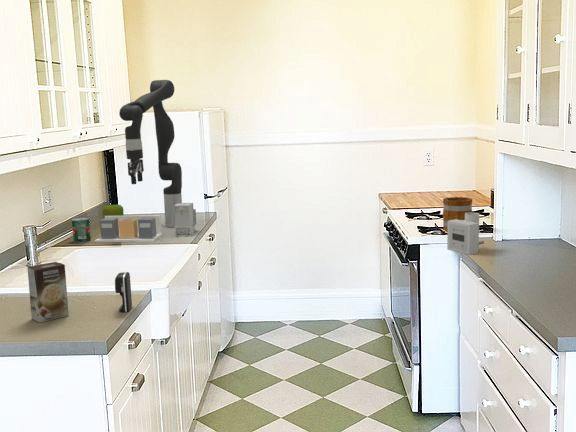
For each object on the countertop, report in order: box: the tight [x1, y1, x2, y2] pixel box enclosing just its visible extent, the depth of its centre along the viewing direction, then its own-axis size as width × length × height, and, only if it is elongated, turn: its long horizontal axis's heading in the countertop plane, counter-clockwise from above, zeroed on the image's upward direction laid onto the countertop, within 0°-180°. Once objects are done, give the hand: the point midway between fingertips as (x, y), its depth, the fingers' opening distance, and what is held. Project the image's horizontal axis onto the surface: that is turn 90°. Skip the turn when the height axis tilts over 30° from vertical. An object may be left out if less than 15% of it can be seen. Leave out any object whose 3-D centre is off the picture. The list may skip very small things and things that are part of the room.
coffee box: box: [26, 261, 70, 323], centre depth 192 cm, size 9×6×16 cm
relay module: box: [119, 219, 138, 238], centre depth 304 cm, size 5×7×8 cm
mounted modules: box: [99, 218, 156, 238], centre depth 304 cm, size 6×25×8 cm, turn 84°
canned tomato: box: [71, 217, 92, 244], centre depth 303 cm, size 8×8×11 cm
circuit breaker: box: [174, 202, 197, 237], centre depth 315 cm, size 8×14×15 cm, turn 174°
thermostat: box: [446, 212, 485, 256], centre depth 262 cm, size 12×14×15 cm
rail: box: [97, 235, 156, 239], centre depth 304 cm, size 4×27×1 cm, turn 84°
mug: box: [442, 196, 473, 233], centre depth 305 cm, size 20×14×15 cm
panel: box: [94, 214, 163, 243], centre depth 306 cm, size 15×28×10 cm, turn 84°
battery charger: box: [114, 271, 133, 313], centre depth 198 cm, size 7×4×11 cm, turn 5°
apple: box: [102, 203, 125, 219], centre depth 351 cm, size 11×11×11 cm
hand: (137, 182), depth 304 cm, fingers open, 8 cm apart
